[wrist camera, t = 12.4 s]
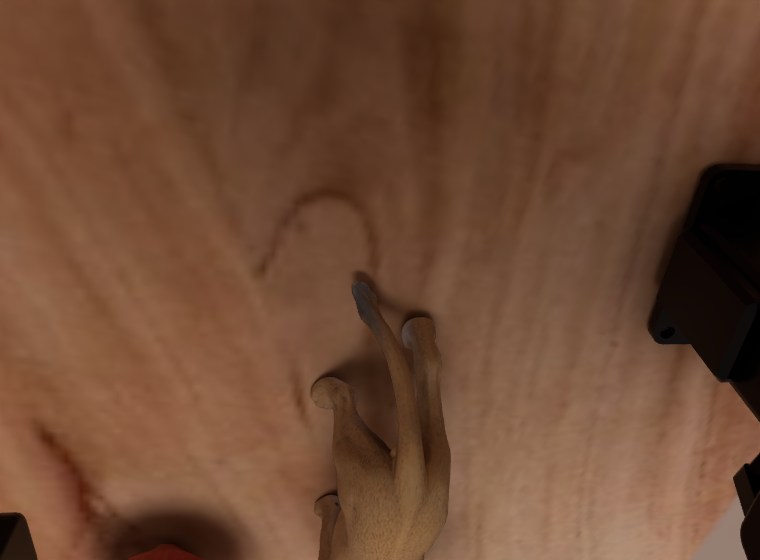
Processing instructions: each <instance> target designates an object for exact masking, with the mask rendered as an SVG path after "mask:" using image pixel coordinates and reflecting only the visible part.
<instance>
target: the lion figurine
mask: <svg viewBox="0 0 760 560" xmlns="http://www.w3.org/2000/svg"><path fill="white" fill-rule="evenodd" d="M352 293H353V296H354V299H355V301H356V304H357V309H358V313H359V315H360V318H361V319H362V320H363V322H364V323H365V324H367V326H368V327H369V328H370V329H371V331H372V332H373V334H374V335H375V337H376V339H377V340H378V342H379V344H380V346H381V348H382V350H383V352H384V355H385V357H386V360H387V363H388V367H389V371H390V375H391V379H392V382H393V387H394V393H395V399H396V404H397V413H398V445H396V446H394V447H393V449H392V450H390V449H389V448H388V447H387V446H386V444H385V443H384V442H383V441H382V440H381V439H380V438H379V437H378V436H377V435H376V434H374V433H373V432H372V431H371V430H370V429H369V428H368V427H367V426H366V425H365V424H364V422H363V420H362V419H361V417H360V416H359V415H358V412H357V410H356V405H357V400H358V399H357V394H356V391H355V388H354V386H353V385H350V384H347V383H345V382H343V381H341V380H339V379H337V378H335V377H326V378H322V379H320V380H319V381H317V382H316V383H315V384H314V386H313V387H312V389H311V398H312V400H313V401H314V402H315V404H316V405H317V406H318V407H321V408H324V409H333V411H334V433H333V457H334V462H335V466H336V469H337V476H338V484H337V488H338V496H335V495H327V496H325V497H323V498H321V499H319V500H318V501H317V502H316V503H315V507H314V512H315V514H316V515H318V516H319V517H321V518H322V529H321V535H320V550H319V557H318V560H424V553H425V552H426V551H427V550H428V549H429V548H430V547H431V545H432V544H433V542H434V541H435V539H436V538H437V536H438V535H439V533H440V531H441V530H442V528H443V526H444V524H445V522H446V518H447V514H448V499H449V483H450V466H451V454H450V448H449V444H448V440H447V437H446V432H445V425H444V418H443V412H442V403H441V394H440V371H441V365H442V363H441V357H440V354H439V351H438V348H437V346H436V343H435V338H436V332H435V327H434V323H433V321H432V320H431V319H429V318H425V317H417V318H413V319H410V320H409V321H407V322H406V323H405V325H404V327H403V329H402V340H403V343H404V346H405V347H406V348H409V349H410V350H412V351H413V354H414V369H415V374H416V381H417V401H416V397H415V392H414V388H413V383H412V379H411V375H410V371H409V367H408V364H407V362H406V359H405V356H404V354H403V352H402V350H401V348H400V346H399V344H398V342H397V340H396V338H395V337H394V335H393V333H392V331H391V329H390V327H389V326H388V325H387V323H386V322H385V321H384V319H383V317H382V315H381V313H380V311H379V308H378V303H377V297H376V295H375V294H374V293H373V292H372V291H371V290H370V287H369V286H368V285H367V284H366V283H364V282H361V281H359V282H355V283H354V284H353V285H352Z"/></svg>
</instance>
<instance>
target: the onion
mask: <svg viewBox="0 0 760 560" xmlns="http://www.w3.org/2000/svg"><path fill="white" fill-rule="evenodd" d="M127 560H203V559H201V558H199V557H197V556H195V555H193V554H190V553H188V552H186V551H184V550H183V549H181V548H180V547H178V546H177V545H174V544H161V545H159V546H157V547H156V548H154V549H152V550H150V551H148V552H145V553H141V554H138V555H135V556H132V557H131V558H129V559H127Z"/></svg>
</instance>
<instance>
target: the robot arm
mask: <svg viewBox="0 0 760 560" xmlns="http://www.w3.org/2000/svg"><path fill="white" fill-rule="evenodd" d="M724 177H725V178H724ZM721 178H724V181H723V182H722V184H720V185H719V186H716V187H715V184H716V182H717V181H718V180H720V179H721ZM657 300H658V301H657V304H656V306H655V309H654V312H653V315H652V318H651V321H650V323H649V327H648V331H649V333H650V335H651V336H652V338H653V339H654V341H655V342H657V343H658V344H691V345H692V347H693V348H694V349H695V351H696V352H697V353H698V355H699V356H700V357H701V359H702V360H703V361H704V363H705V364H706V365H707V367H708V368H709V369H710V371H711V372H712V373H713V375H714V376H715V377H716V378H717V380H718V381H720V382H729V383H730V384H731V385H732V387H733V388H734V389H735V391H736V392H737V393H738V394H739V396H740V397H741V398H742V400H743V401H744V402H745V404H746V405H747V406H748V408H749V409H750V410H751V411H752V413H753V414H754V415H755V417H756V418H757V419H758V421H759V422H760V165H742V164H718V165H714V166H712V167H711V168H709V169H708V170H707V171H706V172H705V173H704V174H703V176H702V178H701V180H700V183H699V185H698V188H697V191H696V194H695V197H694V200H693V202H692V205H691V208H690V211H689V214H688V216H687V219H686V222H685V225H684V228H683V230H682V232H681V233H680V235H679V236H678V239H677V242H676V244H675V247H674V250H673V253H672V256H671V259H670V261H669V264H668V267H667V270H666V273H665V276H664V278H663V281H662V284H661V287H660V290H659V293H658V295H657ZM666 327H668V329H666V330H664V331H662V330H663V329H664V328H666ZM733 480H734V484H735V487H736V490H737V493H738V496H739V500H740V503H741V506H742V509H743V512H744V516H745V518H744V521H743V522H742V525H741V529H740V536H741V542H742V546H743V549H744V551H745V554H746V557H747V559H748V560H760V453H759V454H758V455H757V456H756V457H755V458H754V460H753V461H752V462H751V463H750V464H744V465H743V466H742V468H741V469H740V470H739V471H738V472H737V473H736V474H735V475H734V477H733ZM0 560H37V554H36V551H35V548H34V544H33V541H32V537H31V534H30V531H29V527H28V524H27V521H26V519H25V517H24V516H23V515H22V514H21V513H17V512H13V513H0Z"/></svg>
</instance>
